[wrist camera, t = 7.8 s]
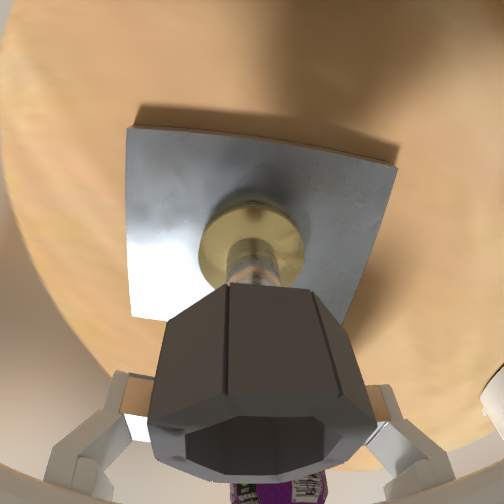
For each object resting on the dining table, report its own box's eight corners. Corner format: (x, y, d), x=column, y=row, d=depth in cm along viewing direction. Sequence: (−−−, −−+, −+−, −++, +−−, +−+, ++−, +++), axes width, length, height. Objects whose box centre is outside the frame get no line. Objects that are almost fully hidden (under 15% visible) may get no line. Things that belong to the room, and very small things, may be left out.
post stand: (390, 162, 17) (460, 216, 11) (334, 324, 23) (358, 404, 17) (133, 125, 15) (70, 161, 9) (135, 306, 21) (108, 388, 15)
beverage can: (217, 380, 25) (214, 516, 15) (302, 361, 25) (326, 504, 14) (244, 418, 29) (247, 530, 19) (315, 404, 28) (335, 518, 18)
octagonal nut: (364, 293, 10) (408, 388, 7) (313, 402, 14) (328, 479, 10) (166, 275, 10) (137, 381, 6) (170, 394, 13) (160, 476, 9)
